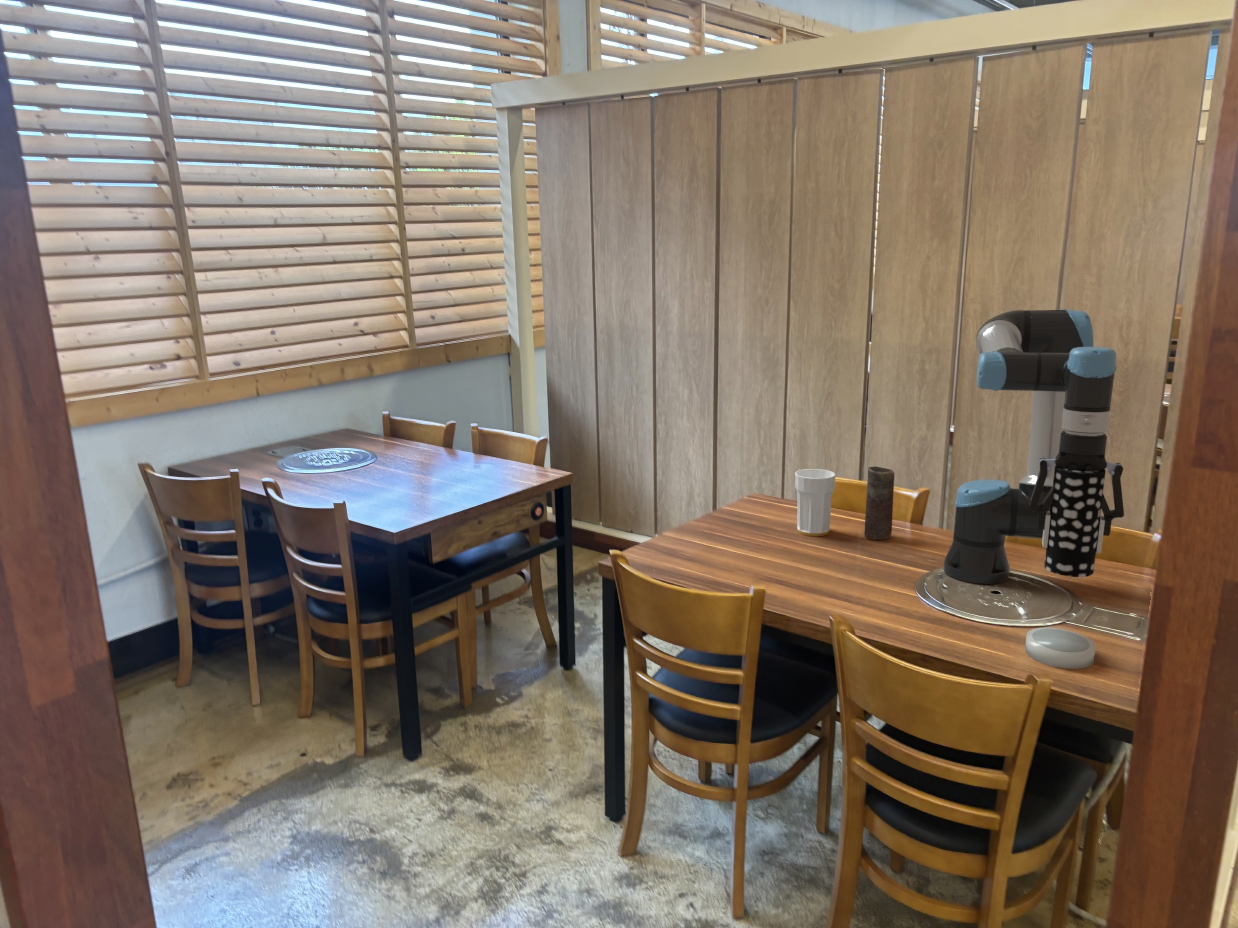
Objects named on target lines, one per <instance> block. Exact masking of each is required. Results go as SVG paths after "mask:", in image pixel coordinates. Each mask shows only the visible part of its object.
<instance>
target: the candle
mask: <svg viewBox="0 0 1238 928" xmlns="http://www.w3.org/2000/svg"><path fill="white" fill-rule="evenodd" d="M894 488H895V472H894V471H893V469H892V468H885V467H879V466H869V467H868V469H867V482H866V499H865V500H866V501H865V514H864V533H863V534H864V538H866V539H867V540H868V539H869V540H872V541H873V540H886V539H889V538H890V536H891V535H892V532H893V513H894V511H893V509H894V508H893V507H894V490H895V489H894Z"/></svg>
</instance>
